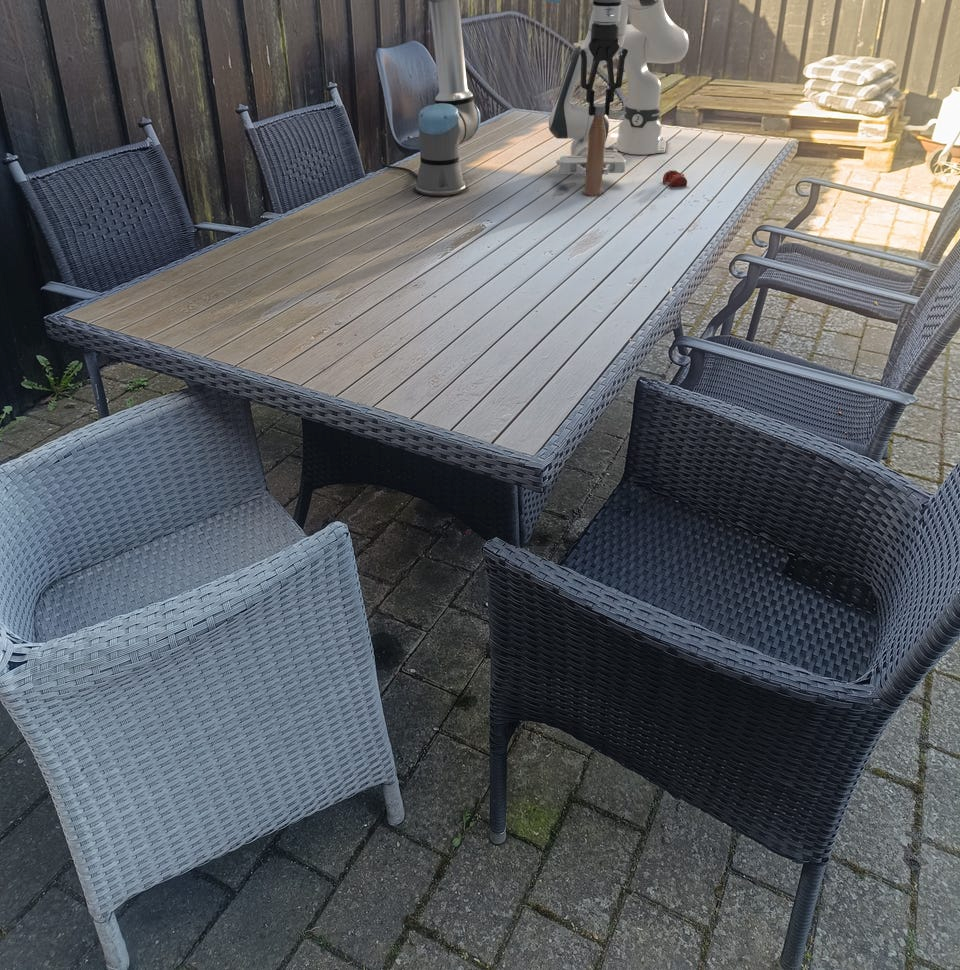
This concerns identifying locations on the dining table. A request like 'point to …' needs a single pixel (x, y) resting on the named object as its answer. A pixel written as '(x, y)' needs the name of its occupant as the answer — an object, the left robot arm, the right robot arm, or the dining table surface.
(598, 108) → the cap
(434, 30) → the left robot arm
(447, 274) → the dining table surface
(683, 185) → the dental model
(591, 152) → the bottle
